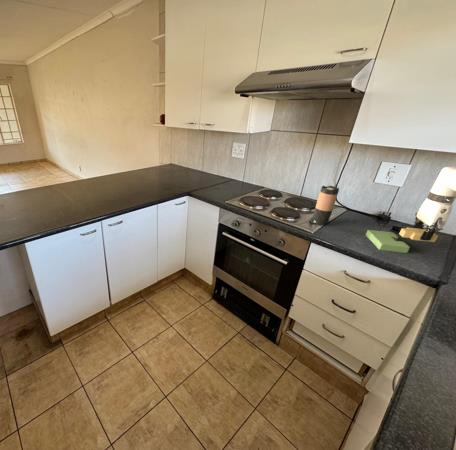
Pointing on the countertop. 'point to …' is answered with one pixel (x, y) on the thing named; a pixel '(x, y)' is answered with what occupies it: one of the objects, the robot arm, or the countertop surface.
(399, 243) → the green pad
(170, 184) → the countertop surface
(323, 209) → the travel mug
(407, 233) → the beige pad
